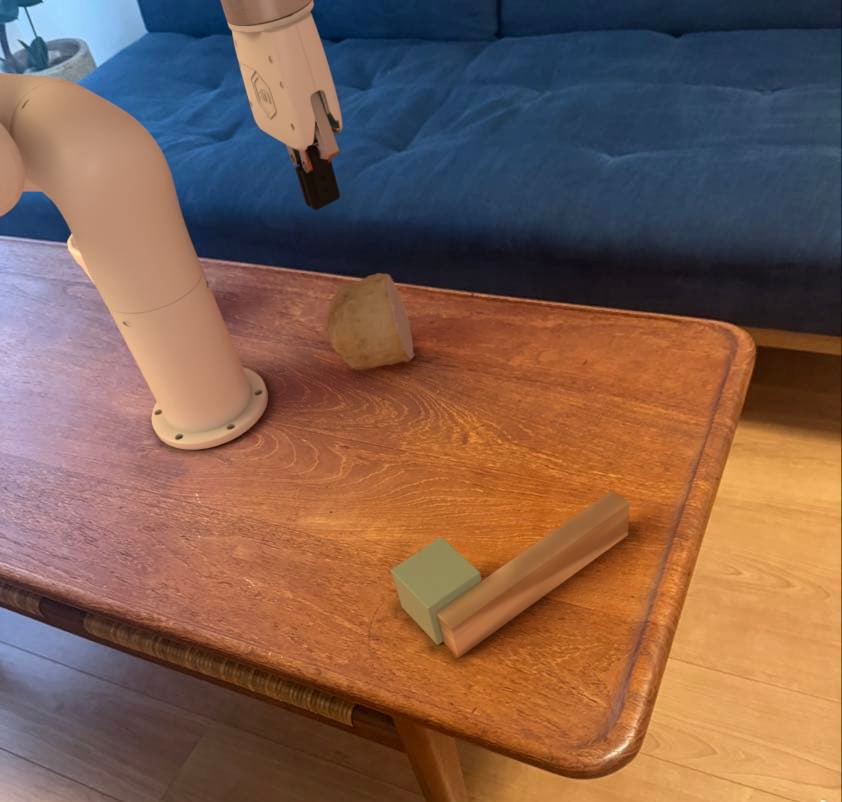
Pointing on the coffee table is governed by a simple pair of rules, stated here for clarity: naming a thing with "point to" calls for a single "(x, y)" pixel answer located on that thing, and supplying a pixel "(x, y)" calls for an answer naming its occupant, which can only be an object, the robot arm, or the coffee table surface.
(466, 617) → the straightedge
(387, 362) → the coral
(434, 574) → the block
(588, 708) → the coffee table surface
